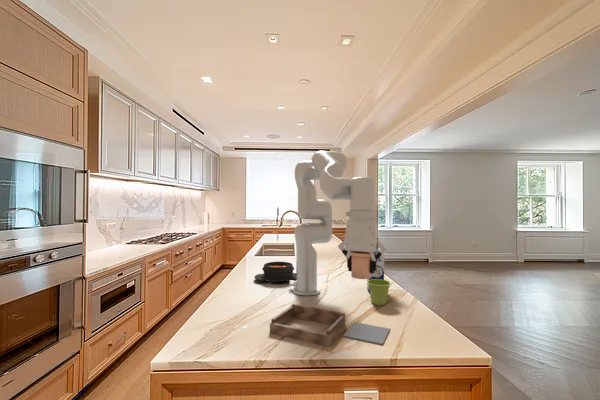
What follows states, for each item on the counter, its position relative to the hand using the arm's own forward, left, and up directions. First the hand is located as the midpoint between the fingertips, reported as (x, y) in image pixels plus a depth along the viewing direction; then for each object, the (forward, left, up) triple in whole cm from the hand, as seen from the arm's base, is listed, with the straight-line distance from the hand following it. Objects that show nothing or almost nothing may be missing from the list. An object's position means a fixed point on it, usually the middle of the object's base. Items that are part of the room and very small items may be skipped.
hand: (361, 271), depth 100 cm
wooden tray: (-16, -5, -20) cm, 26 cm away
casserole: (-56, +44, -20) cm, 74 cm away
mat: (+2, +1, -20) cm, 20 cm away
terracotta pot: (0, 0, -2) cm, 2 cm away
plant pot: (-1, +32, -20) cm, 38 cm away
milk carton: (-6, +48, -20) cm, 52 cm away
